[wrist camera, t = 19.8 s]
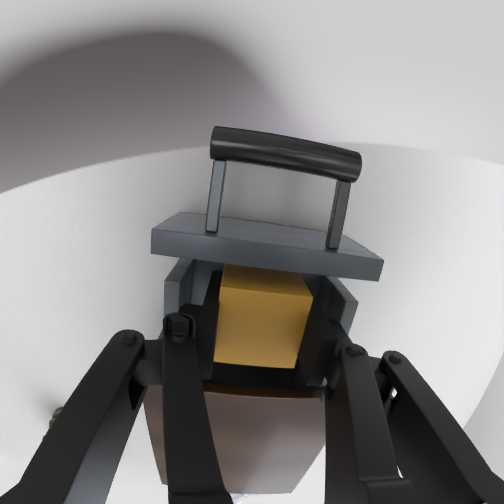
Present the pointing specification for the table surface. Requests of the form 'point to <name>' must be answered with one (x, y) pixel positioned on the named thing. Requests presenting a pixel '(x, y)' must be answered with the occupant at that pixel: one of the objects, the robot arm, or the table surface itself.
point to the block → (261, 316)
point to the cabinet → (253, 434)
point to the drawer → (267, 243)
